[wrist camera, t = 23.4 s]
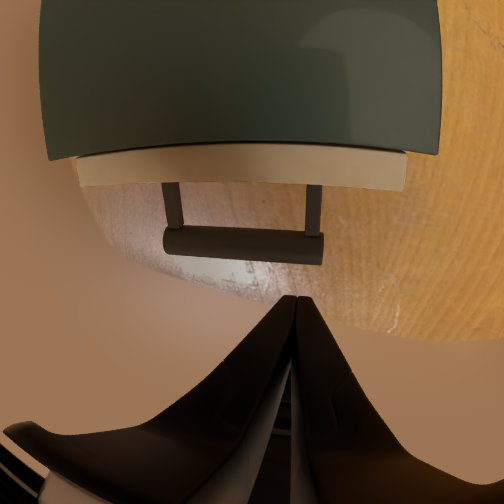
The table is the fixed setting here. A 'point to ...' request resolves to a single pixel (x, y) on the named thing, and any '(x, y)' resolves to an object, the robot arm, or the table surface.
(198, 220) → the table surface
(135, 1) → the cabinet
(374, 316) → the table surface
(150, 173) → the drawer
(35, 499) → the robot arm
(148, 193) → the table surface
